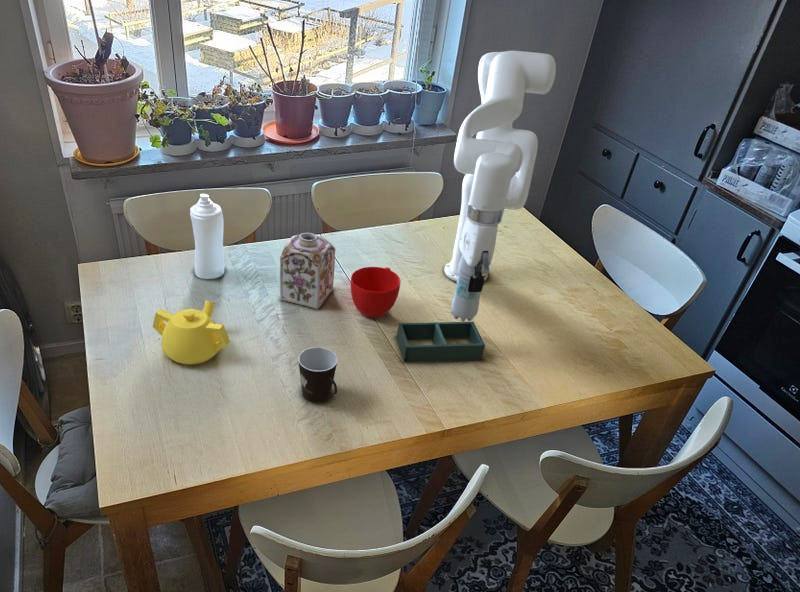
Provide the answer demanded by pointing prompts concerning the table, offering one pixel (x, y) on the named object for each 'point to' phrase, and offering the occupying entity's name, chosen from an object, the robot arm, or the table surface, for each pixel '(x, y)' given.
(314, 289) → the decorative jar
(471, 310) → the bottle
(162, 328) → the teapot
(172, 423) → the table surface
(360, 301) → the ceramic cup
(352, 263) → the table surface
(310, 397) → the coffee mug
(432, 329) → the tray
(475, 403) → the table surface
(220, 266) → the spray can
